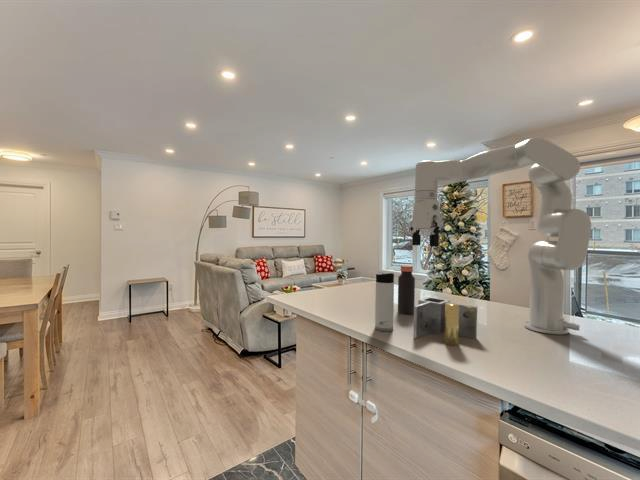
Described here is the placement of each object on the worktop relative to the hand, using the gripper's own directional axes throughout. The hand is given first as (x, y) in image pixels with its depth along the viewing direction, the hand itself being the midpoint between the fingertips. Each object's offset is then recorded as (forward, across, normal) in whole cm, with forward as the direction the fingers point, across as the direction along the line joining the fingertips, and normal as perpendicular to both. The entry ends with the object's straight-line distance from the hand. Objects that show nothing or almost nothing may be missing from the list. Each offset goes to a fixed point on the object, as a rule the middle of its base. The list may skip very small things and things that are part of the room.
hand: (424, 245), depth 107 cm
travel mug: (+30, +4, +13) cm, 33 cm away
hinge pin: (+29, -15, +1) cm, 33 cm away
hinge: (+29, -8, -1) cm, 31 cm away
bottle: (+30, +21, -7) cm, 37 cm away
